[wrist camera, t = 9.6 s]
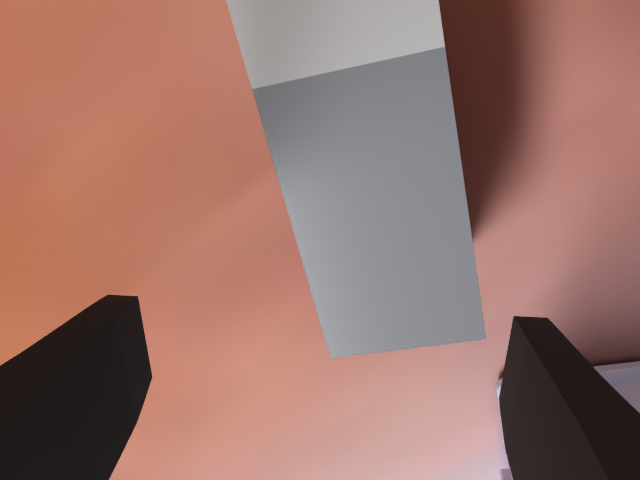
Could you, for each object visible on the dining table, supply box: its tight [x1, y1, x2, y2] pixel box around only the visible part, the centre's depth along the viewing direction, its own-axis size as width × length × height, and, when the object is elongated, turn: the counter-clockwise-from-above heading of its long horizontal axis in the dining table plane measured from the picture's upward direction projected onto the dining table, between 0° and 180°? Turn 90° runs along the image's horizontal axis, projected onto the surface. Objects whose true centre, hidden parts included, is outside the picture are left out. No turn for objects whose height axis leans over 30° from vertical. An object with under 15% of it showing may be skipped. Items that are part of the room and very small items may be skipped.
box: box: [226, 0, 486, 358], centre depth 17 cm, size 4×11×5 cm, turn 14°
